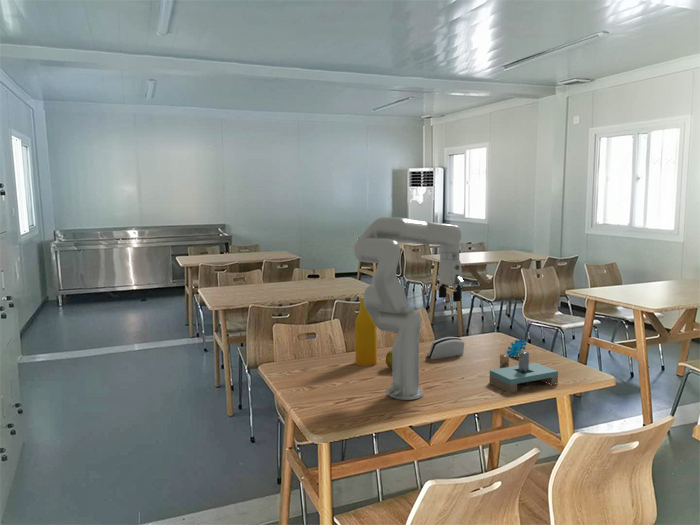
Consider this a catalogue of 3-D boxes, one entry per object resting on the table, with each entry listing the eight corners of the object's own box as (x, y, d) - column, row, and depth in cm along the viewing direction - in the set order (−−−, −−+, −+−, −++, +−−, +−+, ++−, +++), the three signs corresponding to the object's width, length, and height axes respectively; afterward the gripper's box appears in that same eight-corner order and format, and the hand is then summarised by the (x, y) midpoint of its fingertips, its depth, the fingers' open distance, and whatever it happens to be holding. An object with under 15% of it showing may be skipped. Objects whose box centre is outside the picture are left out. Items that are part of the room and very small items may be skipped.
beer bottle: (375, 367, 229) (375, 299, 226) (354, 366, 231) (352, 298, 227) (378, 360, 238) (377, 295, 235) (357, 360, 240) (356, 295, 236)
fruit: (402, 364, 232) (402, 346, 231) (412, 370, 223) (412, 351, 223) (382, 367, 228) (381, 348, 228) (391, 373, 220) (391, 354, 219)
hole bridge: (510, 392, 196) (510, 379, 195) (489, 382, 207) (489, 370, 206) (557, 384, 204) (558, 371, 204) (535, 374, 215) (535, 362, 215)
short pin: (506, 371, 220) (506, 357, 219) (498, 370, 222) (498, 355, 221) (510, 369, 222) (510, 355, 222) (502, 368, 225) (502, 353, 224)
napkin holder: (457, 351, 250) (461, 333, 246) (462, 357, 246) (467, 338, 242) (425, 356, 243) (429, 337, 239) (431, 362, 239) (435, 343, 235)
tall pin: (525, 385, 203) (526, 354, 202) (516, 383, 205) (517, 352, 204) (529, 383, 206) (530, 352, 204) (520, 381, 208) (521, 350, 207)
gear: (502, 349, 246) (518, 334, 245) (510, 357, 247) (526, 342, 246) (512, 360, 235) (529, 344, 234) (520, 368, 237) (537, 352, 236)
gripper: (471, 257, 207) (470, 302, 209) (445, 254, 223) (444, 295, 225) (454, 259, 204) (454, 303, 206) (429, 255, 220) (429, 296, 222)
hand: (449, 299), depth 215 cm, fingers open, 9 cm apart
